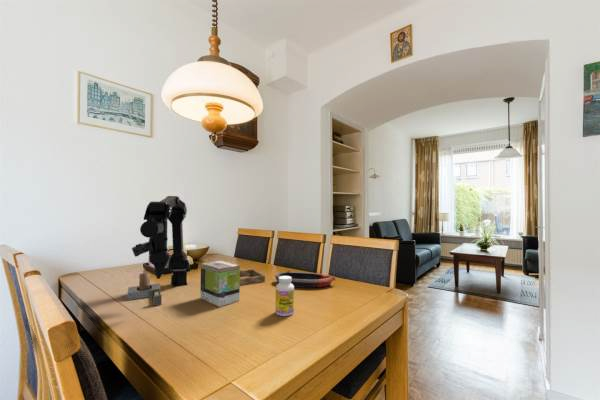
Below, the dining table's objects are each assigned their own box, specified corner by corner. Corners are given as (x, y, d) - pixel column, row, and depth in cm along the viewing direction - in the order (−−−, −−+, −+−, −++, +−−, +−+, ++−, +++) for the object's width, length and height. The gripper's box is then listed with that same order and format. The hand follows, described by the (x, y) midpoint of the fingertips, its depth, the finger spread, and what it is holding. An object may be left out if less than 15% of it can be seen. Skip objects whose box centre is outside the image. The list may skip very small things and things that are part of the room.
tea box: (240, 301, 109) (240, 264, 110) (218, 307, 102) (218, 268, 103) (220, 292, 120) (221, 259, 120) (199, 298, 112) (199, 262, 113)
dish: (280, 278, 145) (280, 269, 145) (337, 282, 137) (337, 272, 137) (269, 286, 130) (269, 276, 130) (333, 291, 122) (333, 280, 122)
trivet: (253, 274, 152) (253, 269, 152) (264, 281, 138) (264, 275, 138) (223, 278, 144) (223, 272, 144) (232, 286, 129) (232, 280, 129)
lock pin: (159, 295, 115) (160, 287, 115) (161, 304, 105) (161, 295, 105) (152, 296, 114) (152, 288, 114) (153, 305, 103) (153, 297, 103)
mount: (159, 290, 123) (159, 283, 123) (160, 295, 116) (160, 288, 116) (128, 294, 117) (128, 287, 118) (127, 300, 110) (127, 293, 110)
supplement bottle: (276, 317, 93) (276, 280, 93) (274, 310, 99) (274, 275, 100) (295, 316, 94) (295, 279, 95) (292, 309, 101) (292, 274, 101)
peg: (149, 292, 119) (150, 272, 120) (149, 295, 116) (150, 274, 116) (139, 294, 117) (139, 273, 118) (139, 297, 114) (139, 275, 114)
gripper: (134, 233, 105) (133, 273, 105) (132, 238, 89) (131, 285, 89) (166, 232, 111) (165, 270, 110) (169, 236, 95) (168, 281, 94)
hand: (158, 276), depth 101 cm, fingers open, 7 cm apart
